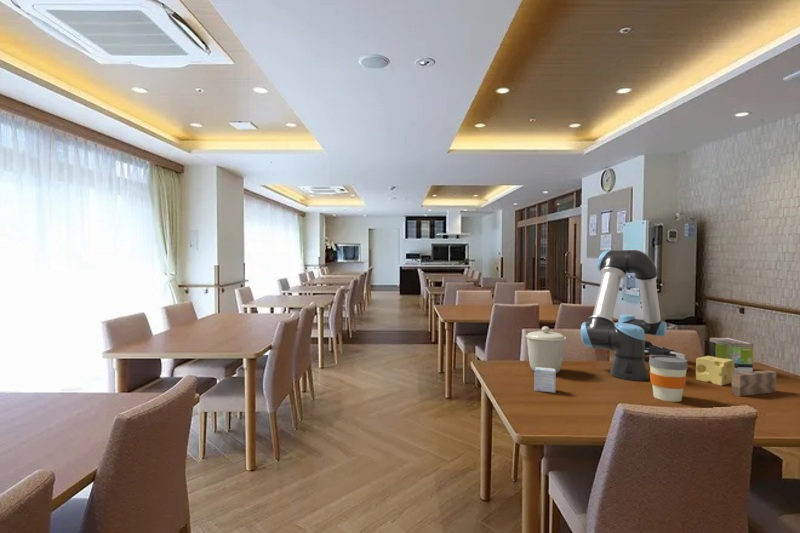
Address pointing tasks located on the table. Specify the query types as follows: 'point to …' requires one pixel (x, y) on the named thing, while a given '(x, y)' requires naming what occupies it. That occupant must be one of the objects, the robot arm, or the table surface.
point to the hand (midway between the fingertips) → (683, 357)
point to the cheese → (714, 370)
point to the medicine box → (545, 379)
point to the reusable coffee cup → (668, 377)
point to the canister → (545, 349)
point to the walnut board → (753, 383)
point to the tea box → (733, 352)
